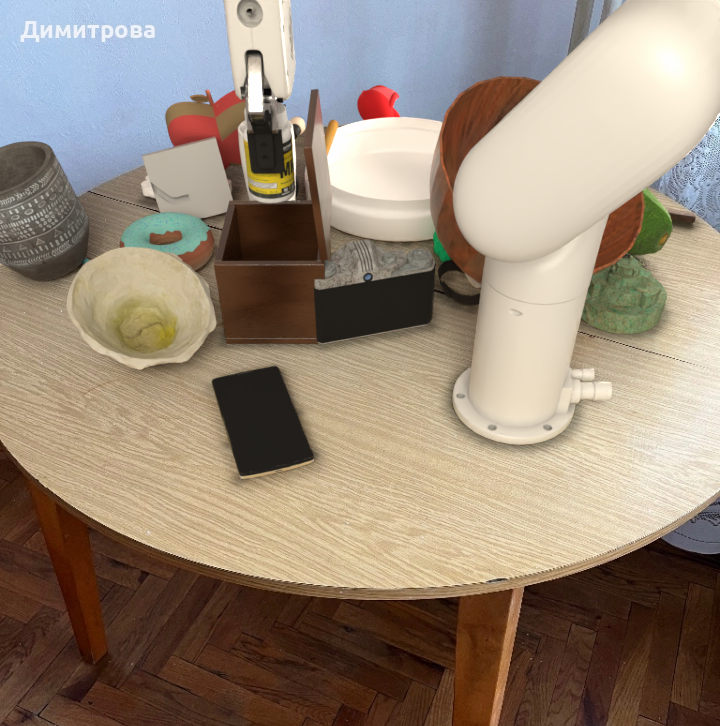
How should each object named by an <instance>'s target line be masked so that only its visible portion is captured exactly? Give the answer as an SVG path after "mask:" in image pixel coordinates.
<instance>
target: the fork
mask: <svg viewBox="0 0 720 726" xmlns="http://www.w3.org/2000/svg"><path fill="white" fill-rule="evenodd" d="M338 128H340V124H339V122H338V121H337V120H336V119H331V120H329V122H328V123H327V127H326V130H325V133H324V136H325V144H326V152H327V157H328V154H329V151H330V149H331V146H332V143H333V140H334V138H335V135H336V132H337V129H338ZM307 181H308V180H307Z"/></svg>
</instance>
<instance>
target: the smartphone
mask: <svg viewBox="0 0 720 726" xmlns="http://www.w3.org/2000/svg"><path fill="white" fill-rule="evenodd" d="M211 386H212V387H211V388H212V390H213V393H214V397H215V400H216V404H217V407H218V410H219V414H220V417H221V421H222V424H223V428H224V431H225V434H226V437H227V441H228V444H229V447H230V450H231V455H232V457H233V460H234V464H235V466H236V471H237V473H238V476H239V478H240V479H242V480H245V479H246V480H247V479H252V478H258V477H263V476H269V475H272V474H278V473H281V472H286V471H290V470H294V469H298V468H301V467H304V466H307V465H309V464H312V463H314V462H315V456H314V453H313V450H312V448H311V446H310V443H309V441H308V438H307V435H306V433H305V430H304V428H303V425H302V424H301V421H300V418H299V415H298V413H297V410H296V408H295V405H294V403H293V400H292V398H291V396H290V393H289V390H288V388H287V386H286V383H285V380H284V378H283V375H282V373H281V370H280V368H279V366H278V365H272V366H266V367H261V368H256V369H250V370H246V371H241V372H236V373H232V374H228V375H222V376H219V377H215V378H213V379H212V380H211Z"/></svg>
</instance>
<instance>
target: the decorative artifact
mask: <svg viewBox="0 0 720 726" xmlns="http://www.w3.org/2000/svg"><path fill="white" fill-rule="evenodd" d="M643 266H644V262H642V261H640V260H639V259H637V258H635V255H630V256H629V258H627V257H622V258H621V259H619V260H618V261H617V262H616V263H615V264H613V265H612V266H610V267H608V268H606V269H604V270H602V271H601V272H599V273H597V274H595V275H592V278H591V282H590V285H589V288H588V292H587V296H586V300H585V304H584V308H583V312H582V316H581V320H582V321H584V322H586V323H587V324H588V325H589V326H592V327H593V328H596V329H597V330H601V331H603V332H606V333H611V334H617V335H619V334H620V335H634V334H640V333H644V332H647V331H649V330H651V329H653V328H654V327H656V326H657V325H658V323H659V322H660V320H661V318H662V314H663V312H664V308H665V306H666V302H667V300H668V293H667V289H666V288H665V287H664V285H663V284H662V283H661V281H659V280H658V279H657V278H655V277H654V275H653V273H652V271H651V270H648V269H646V268H645V267H643Z"/></svg>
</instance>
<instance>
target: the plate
mask: <svg viewBox="0 0 720 726" xmlns="http://www.w3.org/2000/svg"><path fill="white" fill-rule="evenodd" d="M442 123H443V121H440V120H434V119H428V118H420V117H407V116H400V117H388V118H377V119H369V120H360V121H356V122H352V123H349V124H345V125H343V126H339V127H338V129H337V132H336V135H335V138H334V140H333V143H332V146H331V149H330V151H329V154H328V157H327V159H328V167H329V175H330V183H331V191H332V206H331V221H330V227H332V228H333V229H335V230H338V231H341V232H343V233H346V234H349V235H351V236H356V237H359V238H363V239H370V240H372V241H374V240H375V241H380V242H381V241H382V242H395V243H396V242H400V243H401V242H403V243H405V242H420V241H430V240H433V234H434V232H435V227H434V224H433V220H432V217H431V212H430V172H431V166H432V160H433V156H434V151H435V148H436V144H437V141H438V137H439V134H440V130H441V127H442ZM303 175H304V189H305V190H304V191H305V198H306V199H305V200H311V195H310V188H309V182H308V181H307V180H308V175H307V168H306V166H305V167H304V174H303Z"/></svg>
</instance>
